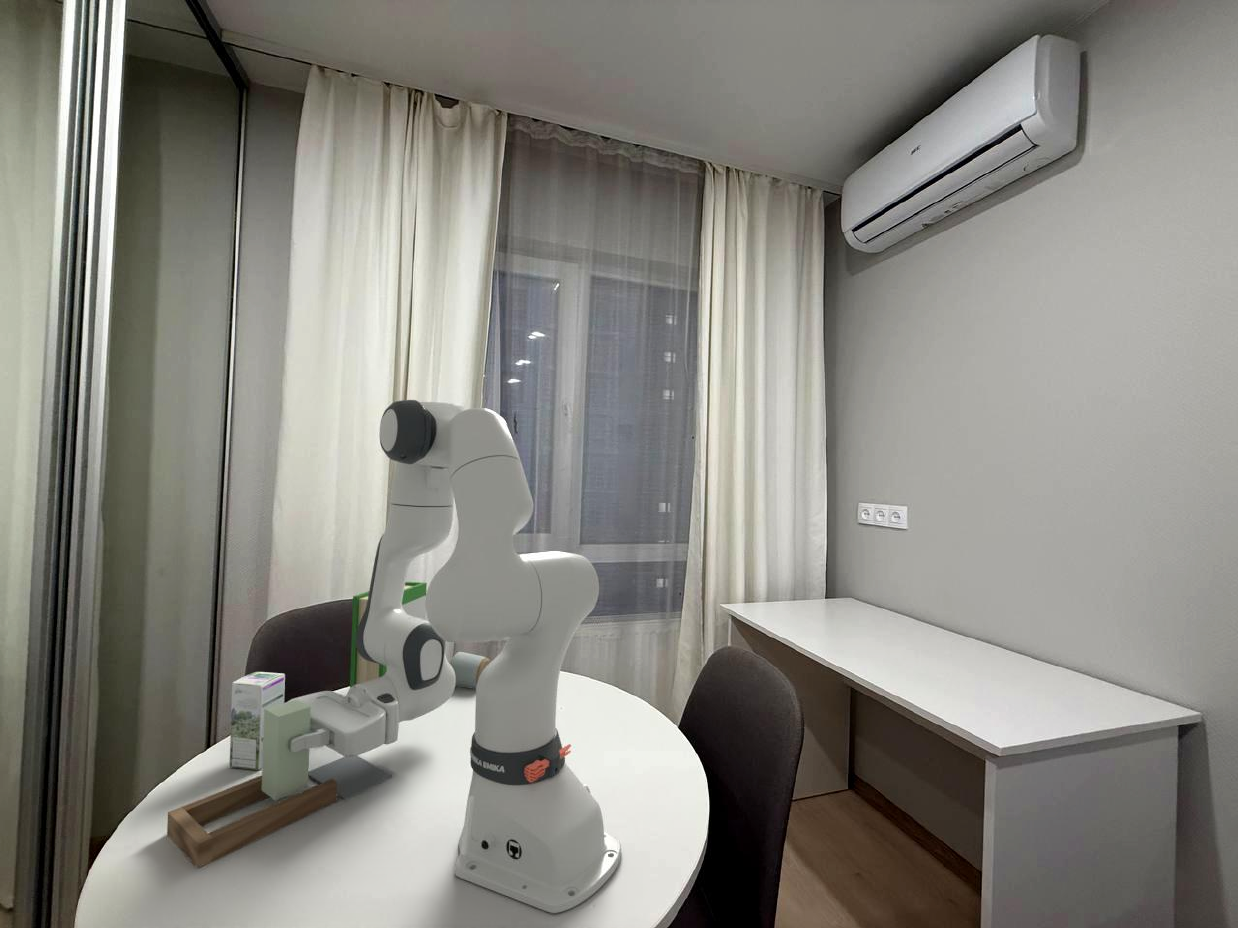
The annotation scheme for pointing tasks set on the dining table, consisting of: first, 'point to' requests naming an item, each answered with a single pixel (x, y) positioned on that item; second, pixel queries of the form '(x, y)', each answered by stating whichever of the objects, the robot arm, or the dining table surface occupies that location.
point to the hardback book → (359, 666)
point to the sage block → (284, 749)
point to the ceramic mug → (468, 668)
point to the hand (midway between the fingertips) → (280, 739)
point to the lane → (245, 830)
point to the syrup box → (252, 716)
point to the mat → (350, 775)
